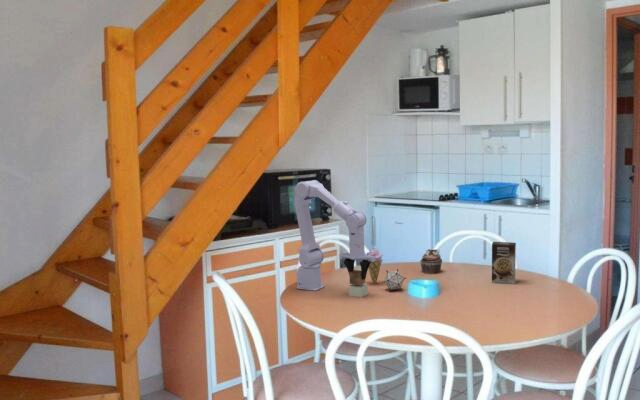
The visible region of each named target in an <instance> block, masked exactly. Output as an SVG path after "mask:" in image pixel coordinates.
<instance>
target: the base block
mask: <svg viewBox="0 0 640 400" xmlns="http://www.w3.org/2000/svg"><path fill="white" fill-rule="evenodd" d="M368 292H369V291H368V283H363V284H361V285H355V284H350V285H349V286H348V297H356V298H363V297H365V296H366V295H368V294H369V293H368Z"/></svg>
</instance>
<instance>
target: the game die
mask: <svg viewBox="0 0 640 400" xmlns="http://www.w3.org/2000/svg"><path fill="white" fill-rule="evenodd" d="M385 272H386V275H385V277H384V281H381V283H382V284H385V285H386V287H388V288H389V292H391V291H392V290H401V291H402V290H403V289H402V286H403V283H404V281H405V280H406V279H407V277H404V276H403V275H402V274H401V273H400V272H399V269H398V268H397V269H396V270H392V271H388V270H387V269H386V270H385Z"/></svg>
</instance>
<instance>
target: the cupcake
mask: <svg viewBox="0 0 640 400" xmlns="http://www.w3.org/2000/svg"><path fill="white" fill-rule="evenodd" d="M419 262H420V267H421V271H422V273H424V274H427V275H428V274H429V275H434V274H435V275H436V274H440V272H441V268H442V264H443V260H442V258H441V255H440V254H439V250H438V249H430V248H428V249H426V250H425V253H424V254H423V255H422V258H421V260H420V261H419Z"/></svg>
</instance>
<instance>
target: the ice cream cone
mask: <svg viewBox="0 0 640 400" xmlns="http://www.w3.org/2000/svg"><path fill="white" fill-rule="evenodd" d="M379 251H380V250H379V249H378V248H375V247H373V248H372V249H369V251H368V252H366V255H371V256H375V261H374V262H371V263H370V265H369V268H368V272H369V275H370V278H371V282H372V284H373V285H376V284H377V283H378V278H379V275H380V269H381V267H382V263H383V258H382V257H383V254H380V253H379Z"/></svg>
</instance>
